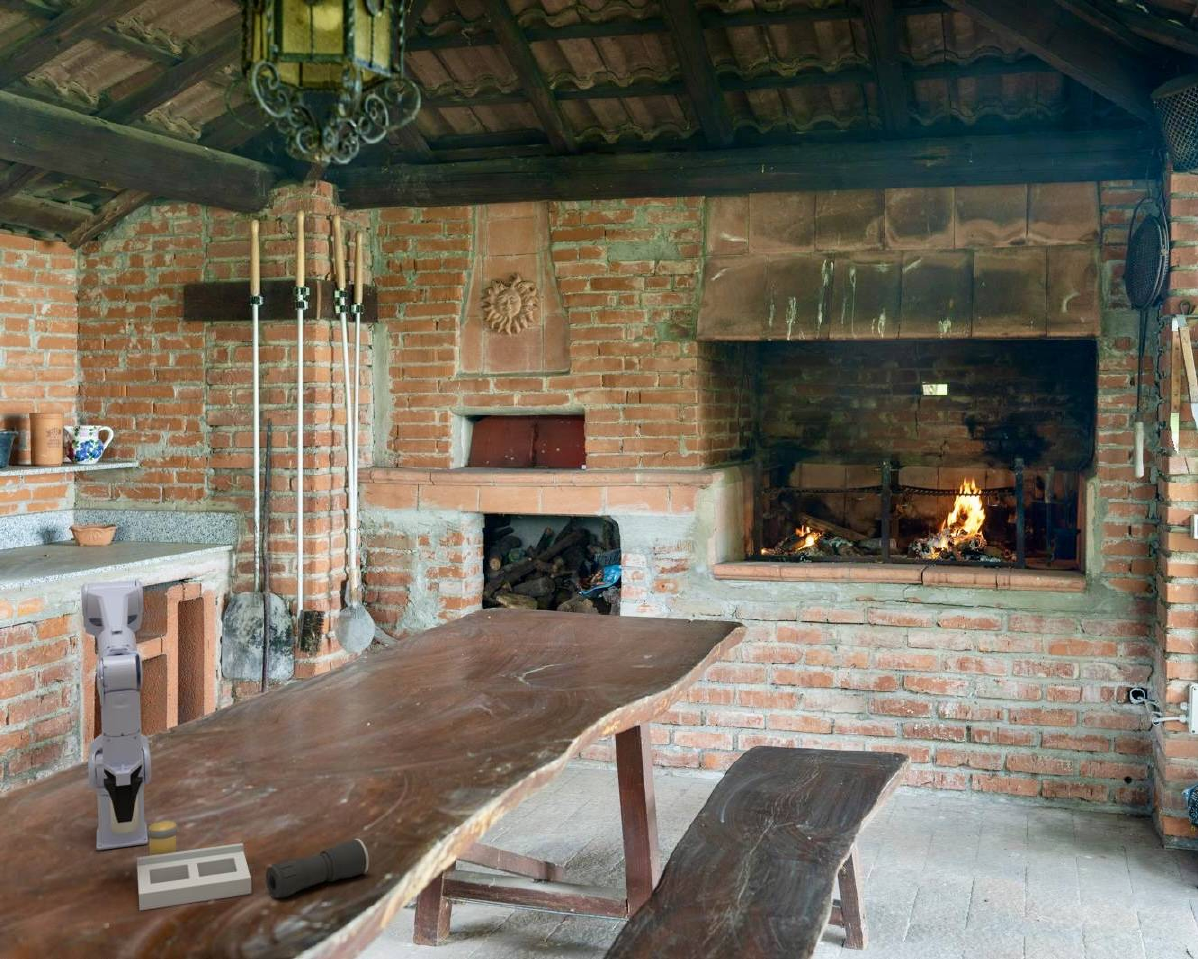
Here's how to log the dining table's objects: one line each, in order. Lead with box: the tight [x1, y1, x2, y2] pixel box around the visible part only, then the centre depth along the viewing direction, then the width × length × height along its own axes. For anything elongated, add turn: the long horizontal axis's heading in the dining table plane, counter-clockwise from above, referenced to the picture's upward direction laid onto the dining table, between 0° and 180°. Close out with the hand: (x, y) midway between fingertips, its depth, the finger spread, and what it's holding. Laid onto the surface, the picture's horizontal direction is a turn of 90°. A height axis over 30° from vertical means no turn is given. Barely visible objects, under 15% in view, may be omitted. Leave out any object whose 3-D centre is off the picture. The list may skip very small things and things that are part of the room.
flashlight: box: [265, 838, 370, 899], centre depth 192 cm, size 15×5×5 cm, turn 131°
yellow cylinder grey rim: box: [147, 820, 179, 856], centre depth 198 cm, size 5×5×7 cm
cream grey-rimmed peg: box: [108, 788, 140, 833], centre depth 193 cm, size 5×5×7 cm
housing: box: [136, 842, 252, 911], centre depth 191 cm, size 12×16×4 cm
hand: (124, 816), depth 193 cm, fingers closed on cream grey-rimmed peg, 4 cm apart
